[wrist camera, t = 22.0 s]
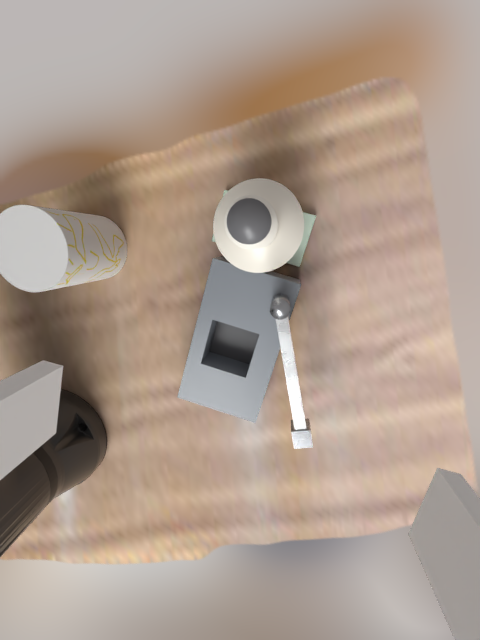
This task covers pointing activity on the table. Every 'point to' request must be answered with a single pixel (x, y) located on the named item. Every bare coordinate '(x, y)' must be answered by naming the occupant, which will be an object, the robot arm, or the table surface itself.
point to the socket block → (235, 340)
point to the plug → (258, 225)
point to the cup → (58, 248)
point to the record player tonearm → (291, 372)
